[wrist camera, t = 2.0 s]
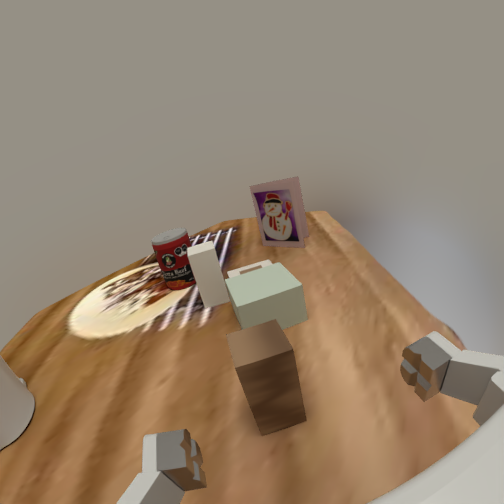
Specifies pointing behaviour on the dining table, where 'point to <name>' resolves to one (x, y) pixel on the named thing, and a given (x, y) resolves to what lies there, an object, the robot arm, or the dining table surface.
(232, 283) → the sage block
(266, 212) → the greeting card
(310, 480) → the dining table surface
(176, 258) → the canned food
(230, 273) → the tile
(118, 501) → the robot arm
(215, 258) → the offwhite post
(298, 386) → the walnut post
